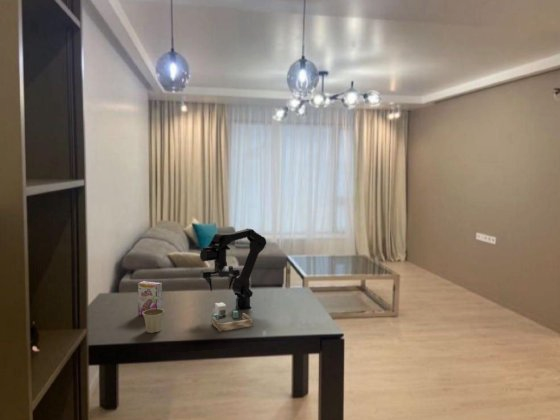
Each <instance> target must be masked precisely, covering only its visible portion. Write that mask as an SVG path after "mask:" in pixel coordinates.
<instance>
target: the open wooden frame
mask: <svg viewBox="0 0 560 420" xmlns="http://www.w3.org/2000/svg"><path fill="white" fill-rule="evenodd" d="M241 315H242V316H241V317H242V320H236V321H229V322H223V323H220V322H219V321H217V320H216V319H215V318H214V317H213V316H212V318H211V321H212V323H211V324H212V325H213V326H214V328H215V327H216V328H217V329H218V330H219V332H223V331H222V330H224V331H228V330H229V329H230V330H236V329H242V328H246V327H247V328H249V327H253V319H252V318H251V316H249V315H248V314H246V313H245V312H242V314H241ZM216 328H215V329H216ZM217 329H216V330H217ZM218 330H217V331H218ZM230 330H229V331H230Z"/></svg>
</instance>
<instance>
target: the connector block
mask: <svg viewBox="0 0 560 420" xmlns="http://www.w3.org/2000/svg"><path fill="white" fill-rule="evenodd" d="M216 313H217V314H218V317H224V316H223V315H225V316H227V304H225V303H224V302H215V303H214V314H216Z"/></svg>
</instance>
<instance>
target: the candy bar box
mask: <svg viewBox="0 0 560 420" xmlns="http://www.w3.org/2000/svg"><path fill="white" fill-rule="evenodd" d="M162 283H163V282H155V281H147V280H143V281H140V282H138V283H137V301H138V302H137V304H138V305H137V308H138V309H137V310H138V316H143V314H142V313H143V311H145V310H149V309H163V284H162ZM143 317H144V316H143Z"/></svg>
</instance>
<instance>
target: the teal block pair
mask: <svg viewBox="0 0 560 420" xmlns="http://www.w3.org/2000/svg"><path fill="white" fill-rule="evenodd" d="M212 315H213V316H212V318H213V317H214V318H215V319H216V320H219V316H218V314H217V313H213V314H212ZM232 317H233V318H234V319H238V318H239V311H238V310H233V311H232Z"/></svg>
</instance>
